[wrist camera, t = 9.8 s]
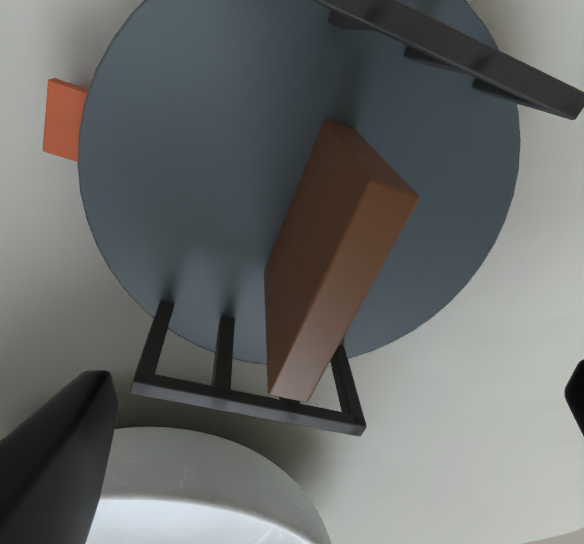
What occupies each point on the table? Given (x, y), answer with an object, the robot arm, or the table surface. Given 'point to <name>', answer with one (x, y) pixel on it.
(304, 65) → the drying rack
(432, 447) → the table surface
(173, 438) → the serving bowl
